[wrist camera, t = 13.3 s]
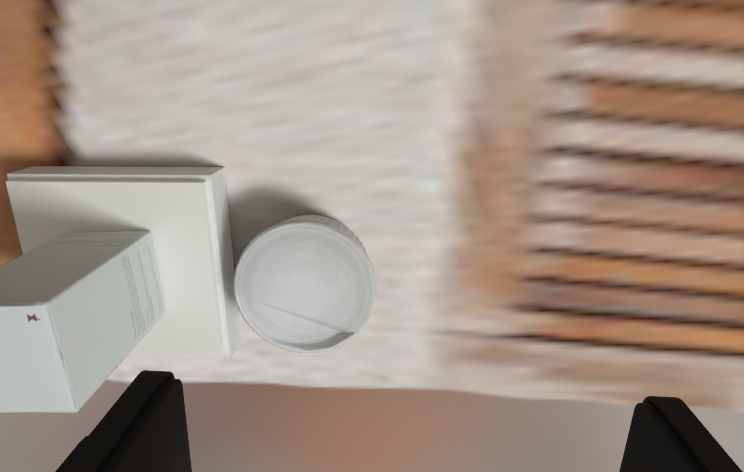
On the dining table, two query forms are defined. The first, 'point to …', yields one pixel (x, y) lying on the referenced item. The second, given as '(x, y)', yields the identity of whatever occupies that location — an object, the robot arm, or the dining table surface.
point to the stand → (170, 237)
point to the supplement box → (74, 316)
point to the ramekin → (305, 284)
